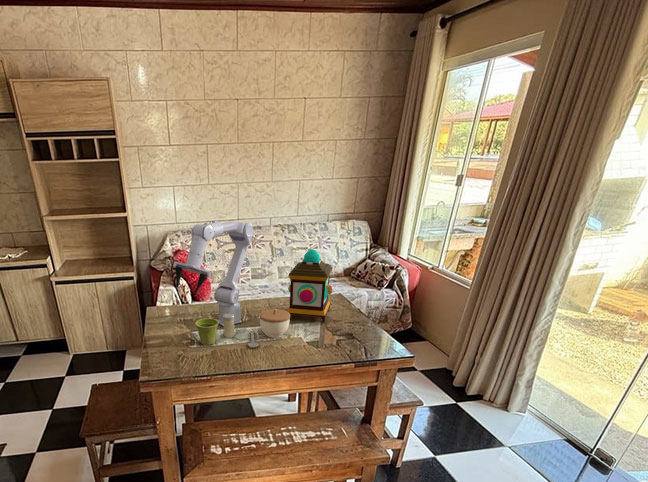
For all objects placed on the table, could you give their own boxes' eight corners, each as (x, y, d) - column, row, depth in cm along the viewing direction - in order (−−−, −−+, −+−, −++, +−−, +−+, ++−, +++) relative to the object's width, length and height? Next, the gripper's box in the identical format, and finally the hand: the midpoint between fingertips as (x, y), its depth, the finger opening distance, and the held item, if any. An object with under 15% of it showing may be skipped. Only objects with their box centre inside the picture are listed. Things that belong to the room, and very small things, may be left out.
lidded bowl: (293, 330, 174) (294, 306, 169) (284, 342, 164) (284, 316, 159) (265, 327, 179) (265, 303, 174) (255, 338, 169) (254, 313, 164)
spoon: (247, 333, 174) (247, 331, 173) (257, 332, 174) (257, 331, 173) (247, 348, 161) (247, 346, 160) (259, 348, 160) (259, 346, 160)
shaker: (231, 332, 175) (230, 312, 171) (236, 336, 171) (236, 316, 167) (222, 335, 173) (221, 315, 169) (227, 338, 170) (226, 318, 165)
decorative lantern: (291, 306, 201) (294, 243, 186) (332, 309, 195) (338, 245, 180) (282, 320, 185) (284, 253, 170) (326, 324, 179) (333, 255, 164)
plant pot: (222, 338, 170) (221, 319, 165) (214, 348, 162) (213, 328, 158) (202, 336, 173) (200, 317, 168) (193, 345, 165) (191, 325, 161)
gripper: (176, 248, 152) (166, 283, 153) (213, 258, 153) (203, 293, 154) (178, 252, 159) (169, 286, 160) (214, 262, 160) (204, 296, 161)
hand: (186, 290), depth 157 cm, fingers open, 7 cm apart
